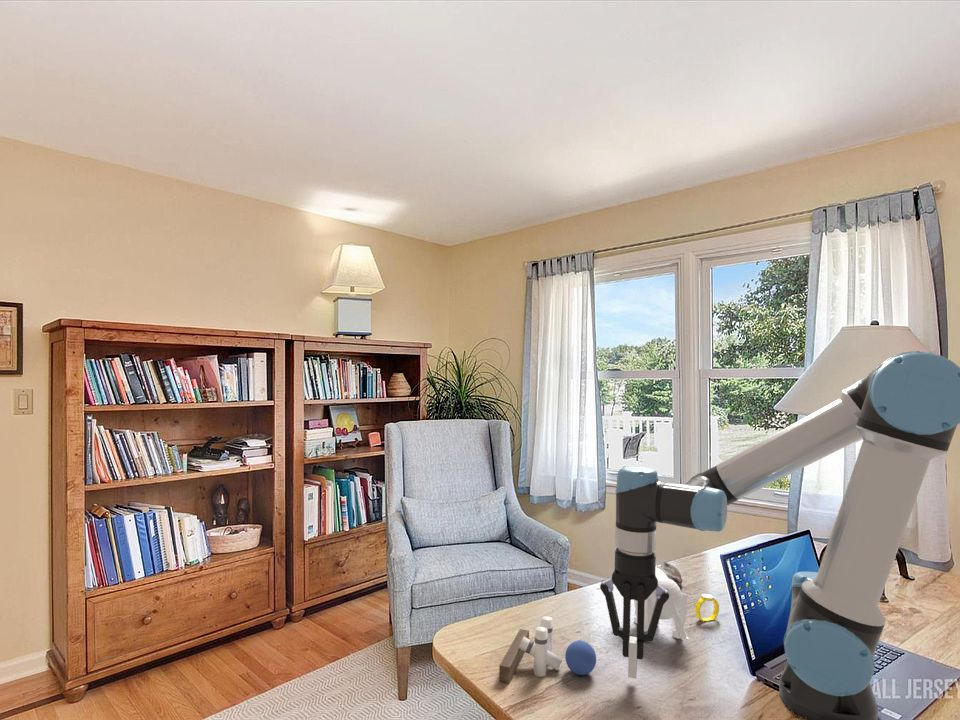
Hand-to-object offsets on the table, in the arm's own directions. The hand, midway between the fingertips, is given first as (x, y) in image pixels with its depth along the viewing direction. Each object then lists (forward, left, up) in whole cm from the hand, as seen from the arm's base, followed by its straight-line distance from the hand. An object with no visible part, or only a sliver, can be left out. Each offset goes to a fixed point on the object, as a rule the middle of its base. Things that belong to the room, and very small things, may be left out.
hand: (632, 674), depth 108 cm
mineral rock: (+26, -49, -2) cm, 55 cm away
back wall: (+19, +13, -2) cm, 23 cm away
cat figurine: (+10, -22, -2) cm, 24 cm away
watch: (+8, -38, -2) cm, 39 cm away
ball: (+8, +5, +1) cm, 10 cm away
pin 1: (+16, +8, -2) cm, 18 cm away
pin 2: (+13, +12, -2) cm, 18 cm away
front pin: (+11, +8, -1) cm, 14 cm away
